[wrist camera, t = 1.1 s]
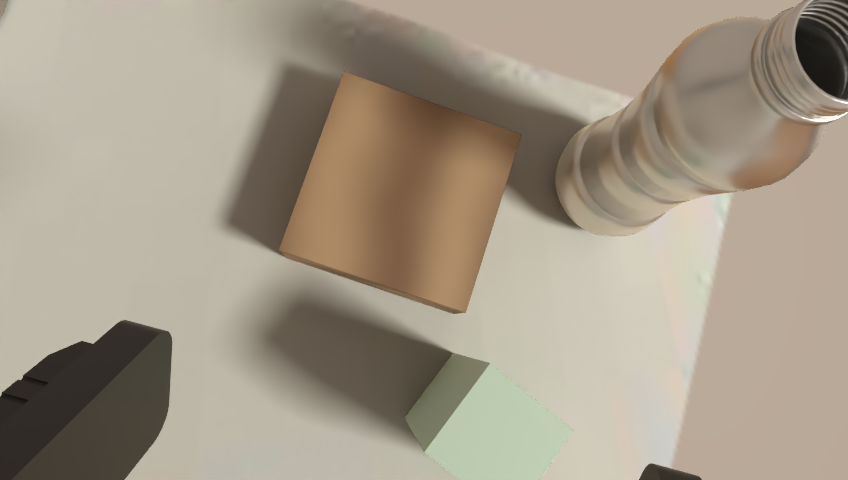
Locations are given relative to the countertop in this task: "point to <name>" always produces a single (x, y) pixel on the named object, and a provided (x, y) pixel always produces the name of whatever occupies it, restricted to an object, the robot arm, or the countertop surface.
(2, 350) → the countertop surface
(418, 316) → the countertop surface
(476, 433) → the block
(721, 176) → the plastic bottle
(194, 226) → the countertop surface
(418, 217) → the base
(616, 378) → the countertop surface
